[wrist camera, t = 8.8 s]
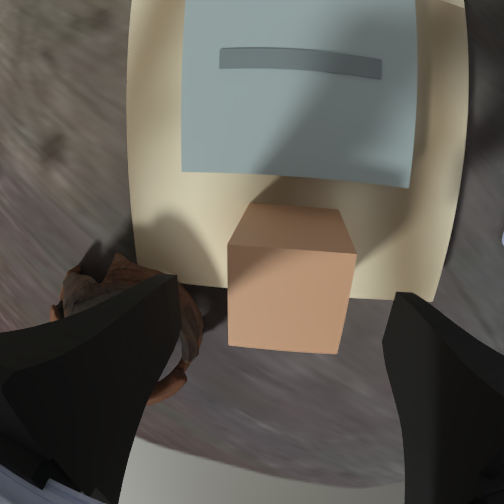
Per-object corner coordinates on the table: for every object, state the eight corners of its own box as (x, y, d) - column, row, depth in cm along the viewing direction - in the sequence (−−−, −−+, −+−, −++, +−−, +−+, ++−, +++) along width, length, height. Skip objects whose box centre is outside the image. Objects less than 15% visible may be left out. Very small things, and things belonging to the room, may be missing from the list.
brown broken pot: (69, 219, 19) (42, 256, 12) (199, 245, 23) (240, 289, 16) (59, 367, 21) (49, 443, 14) (168, 380, 25) (192, 453, 18)
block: (338, 209, 14) (356, 253, 10) (328, 287, 16) (336, 353, 11) (249, 202, 15) (226, 244, 10) (247, 281, 16) (228, 345, 12)
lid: (401, -8, 9) (413, -21, 8) (397, 180, 13) (409, 188, 11) (199, -19, 10) (187, -33, 9) (193, 166, 14) (180, 172, 12)
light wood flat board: (424, -105, 7) (433, -119, 5) (421, 283, 17) (432, 301, 15) (168, -115, 8) (157, -130, 7) (153, 263, 19) (139, 278, 17)
